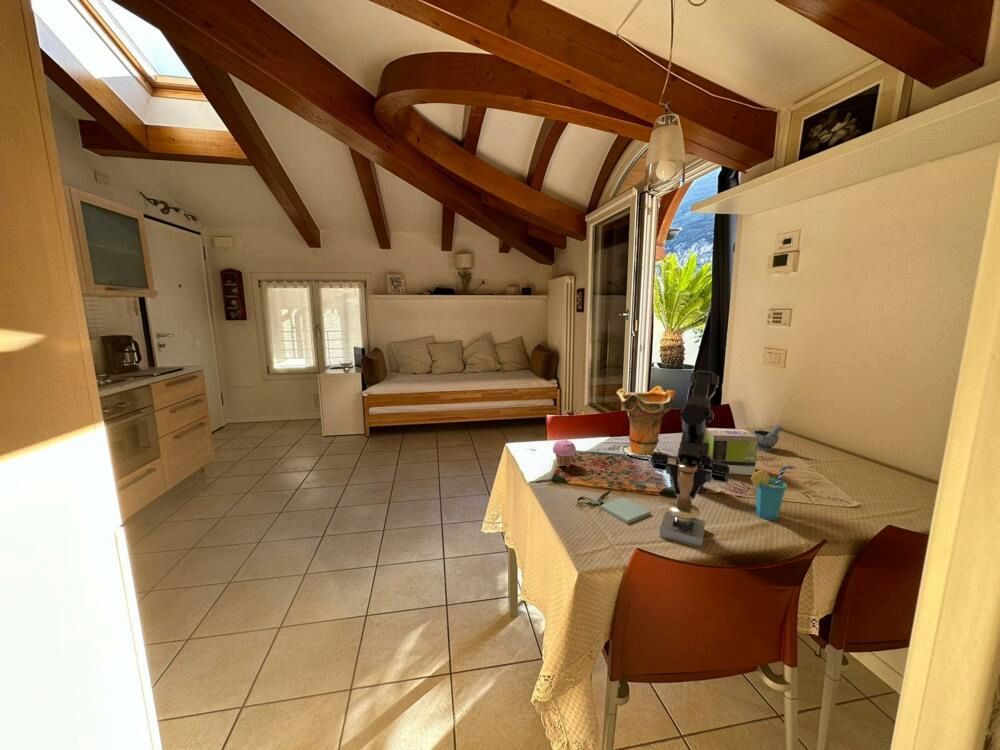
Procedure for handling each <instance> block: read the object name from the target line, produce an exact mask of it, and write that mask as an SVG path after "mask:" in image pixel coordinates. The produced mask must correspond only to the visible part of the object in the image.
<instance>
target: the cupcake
mask: <svg viewBox="0 0 1000 750" xmlns="http://www.w3.org/2000/svg"><path fill="white" fill-rule="evenodd" d="M552 452H553V453H554V455H555V457H556V463H557V466H558V465H562V466H570V467H571V464H572V461H573V459H574V456H575V455H576V452H577V449H576V446H575V444H574V442H572V441H570V440H568V439H561V440H557V441H555V443H554V444H553V448H552Z"/></svg>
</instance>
